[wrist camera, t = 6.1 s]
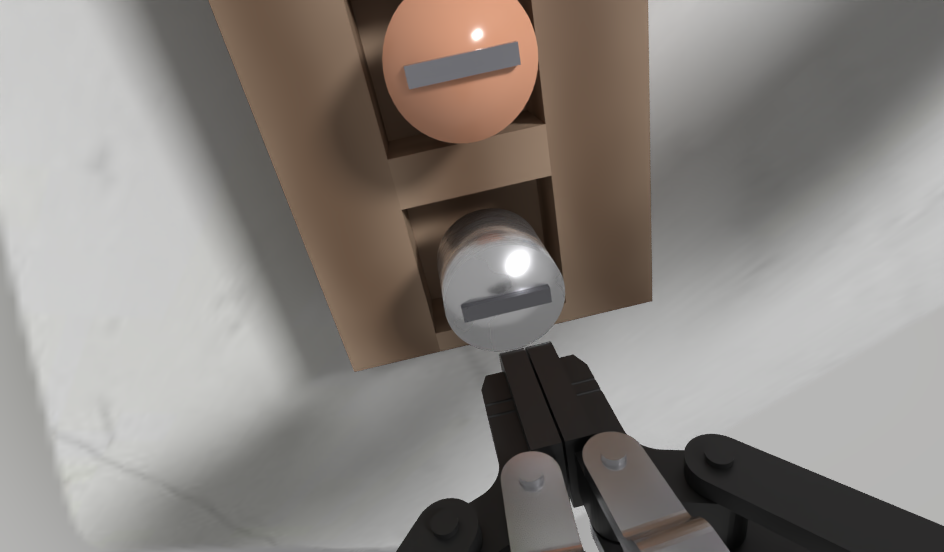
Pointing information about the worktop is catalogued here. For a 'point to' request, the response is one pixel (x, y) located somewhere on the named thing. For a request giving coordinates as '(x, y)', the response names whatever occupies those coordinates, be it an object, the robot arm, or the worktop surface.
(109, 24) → the worktop surface
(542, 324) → the metal knob
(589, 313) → the console
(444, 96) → the terracotta knob
